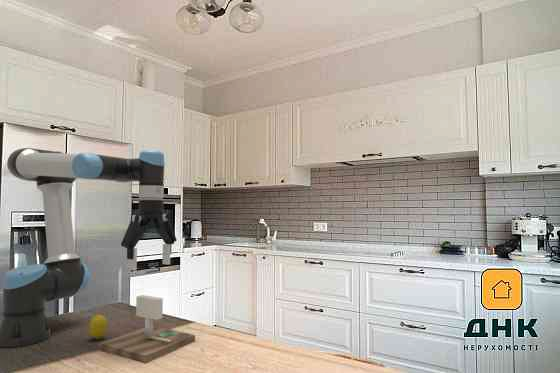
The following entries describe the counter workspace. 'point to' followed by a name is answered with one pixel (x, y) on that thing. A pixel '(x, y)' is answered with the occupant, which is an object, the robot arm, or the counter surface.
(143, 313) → the white stand
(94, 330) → the lemon
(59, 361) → the counter surface
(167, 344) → the wooden cutting board
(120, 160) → the robot arm
